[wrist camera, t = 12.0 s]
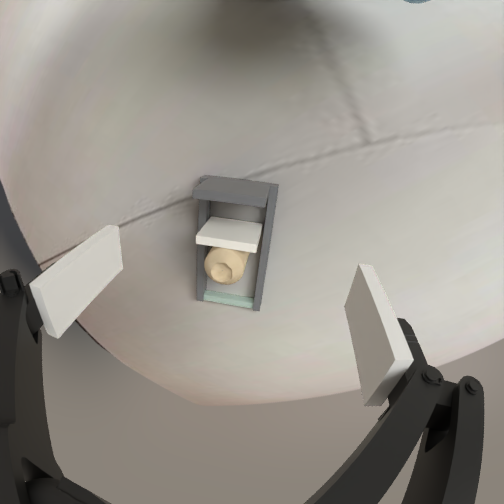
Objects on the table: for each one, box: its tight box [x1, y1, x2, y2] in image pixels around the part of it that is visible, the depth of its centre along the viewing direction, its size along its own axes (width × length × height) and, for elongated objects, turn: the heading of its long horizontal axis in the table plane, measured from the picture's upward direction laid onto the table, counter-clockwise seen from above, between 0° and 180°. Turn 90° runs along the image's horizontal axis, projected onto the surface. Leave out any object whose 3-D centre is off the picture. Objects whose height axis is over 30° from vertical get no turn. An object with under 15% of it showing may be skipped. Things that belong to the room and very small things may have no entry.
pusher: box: [196, 216, 263, 253], centre depth 40 cm, size 1×8×8 cm, turn 84°
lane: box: [193, 175, 279, 311], centre depth 42 cm, size 22×11×9 cm, turn 174°
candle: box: [204, 246, 250, 285], centre depth 41 cm, size 6×6×10 cm
